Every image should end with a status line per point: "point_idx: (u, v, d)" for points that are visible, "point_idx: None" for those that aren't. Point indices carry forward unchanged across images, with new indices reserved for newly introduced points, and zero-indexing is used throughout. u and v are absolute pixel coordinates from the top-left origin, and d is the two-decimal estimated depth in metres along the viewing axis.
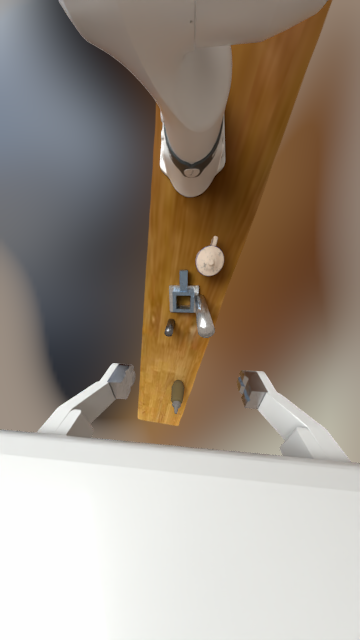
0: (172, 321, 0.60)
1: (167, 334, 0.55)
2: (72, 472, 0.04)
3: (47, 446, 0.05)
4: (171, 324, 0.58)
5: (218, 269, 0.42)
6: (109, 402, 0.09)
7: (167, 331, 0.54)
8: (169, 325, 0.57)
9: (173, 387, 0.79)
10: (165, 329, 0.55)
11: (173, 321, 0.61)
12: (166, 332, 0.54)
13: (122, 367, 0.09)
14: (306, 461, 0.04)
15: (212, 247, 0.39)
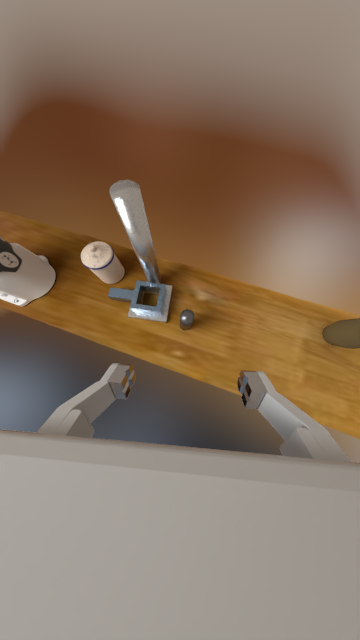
0: None
1: (190, 318, 0.31)
2: (72, 472, 0.04)
3: (47, 446, 0.05)
4: None
5: (106, 245, 0.36)
6: (109, 402, 0.09)
7: (183, 317, 0.31)
8: None
9: (345, 341, 0.34)
10: (183, 323, 0.32)
11: None
12: (185, 319, 0.31)
13: (122, 367, 0.09)
14: (306, 461, 0.04)
15: (82, 250, 0.36)
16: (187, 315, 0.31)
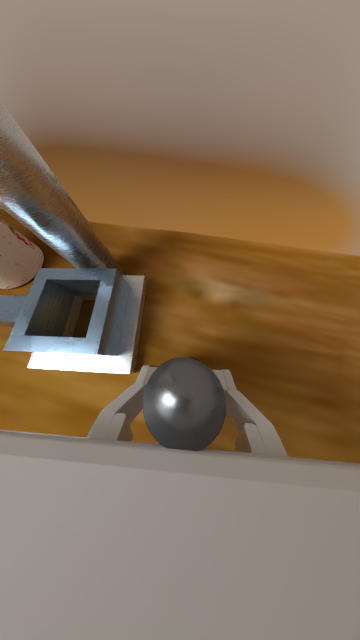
0: None
1: (200, 415, 0.05)
2: (72, 472, 0.04)
3: (47, 446, 0.05)
4: None
5: None
6: None
7: (162, 410, 0.05)
8: None
9: None
10: None
11: None
12: (174, 424, 0.05)
13: (154, 369, 0.09)
14: (306, 461, 0.04)
15: None
16: (183, 396, 0.05)
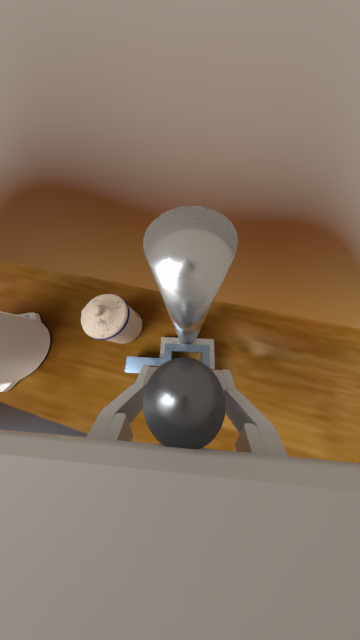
0: None
1: (200, 414, 0.05)
2: (72, 472, 0.04)
3: (47, 446, 0.05)
4: None
5: (117, 300, 0.24)
6: None
7: (162, 409, 0.05)
8: None
9: None
10: None
11: None
12: (174, 423, 0.05)
13: (154, 369, 0.09)
14: (306, 461, 0.04)
15: (82, 312, 0.24)
16: (183, 395, 0.05)
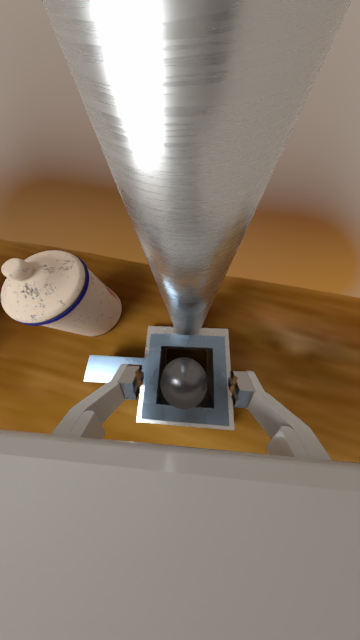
0: None
1: (193, 389, 0.09)
2: (72, 472, 0.04)
3: (47, 446, 0.05)
4: None
5: (68, 258, 0.14)
6: (119, 403, 0.09)
7: (171, 387, 0.09)
8: None
9: None
10: None
11: None
12: (178, 394, 0.09)
13: (131, 368, 0.09)
14: (306, 461, 0.04)
15: (6, 278, 0.14)
16: (183, 379, 0.09)
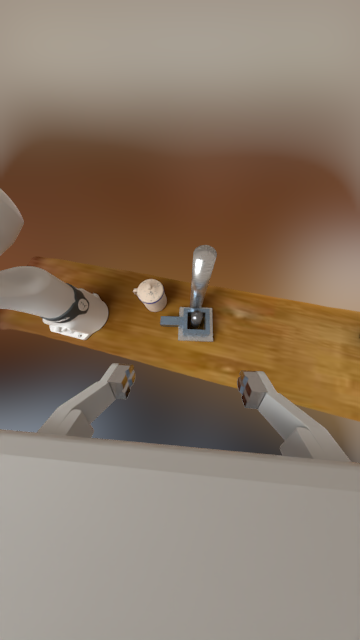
0: None
1: (199, 317, 0.38)
2: (72, 472, 0.04)
3: (47, 446, 0.05)
4: None
5: (157, 282, 0.43)
6: (109, 402, 0.09)
7: (194, 316, 0.38)
8: (191, 319, 0.41)
9: None
10: (194, 321, 0.39)
11: None
12: (196, 318, 0.38)
13: (122, 367, 0.09)
14: (306, 461, 0.04)
15: (138, 289, 0.42)
16: (197, 315, 0.38)
